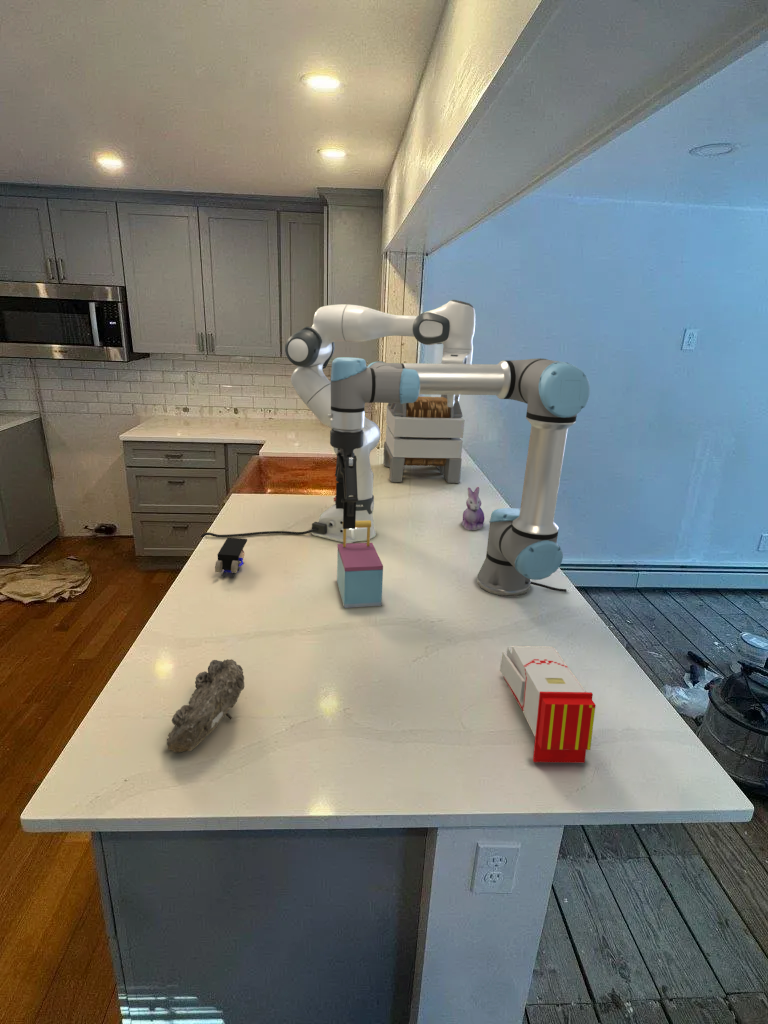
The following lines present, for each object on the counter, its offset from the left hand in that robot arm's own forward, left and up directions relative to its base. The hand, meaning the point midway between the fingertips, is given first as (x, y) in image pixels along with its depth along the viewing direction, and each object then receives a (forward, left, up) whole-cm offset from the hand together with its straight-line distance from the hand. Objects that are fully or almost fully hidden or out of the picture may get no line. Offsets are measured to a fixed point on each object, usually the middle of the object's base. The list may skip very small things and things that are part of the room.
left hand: (453, 404), depth 174 cm
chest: (-16, -41, -48) cm, 65 cm away
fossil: (-26, -98, -48) cm, 112 cm away
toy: (+34, -76, -48) cm, 96 cm away
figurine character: (-55, -40, -48) cm, 83 cm away
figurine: (+8, +23, -48) cm, 54 cm away
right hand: (-15, -56, -20) cm, 61 cm away
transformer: (-27, +86, -48) cm, 102 cm away
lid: (-16, -40, -37) cm, 57 cm away
